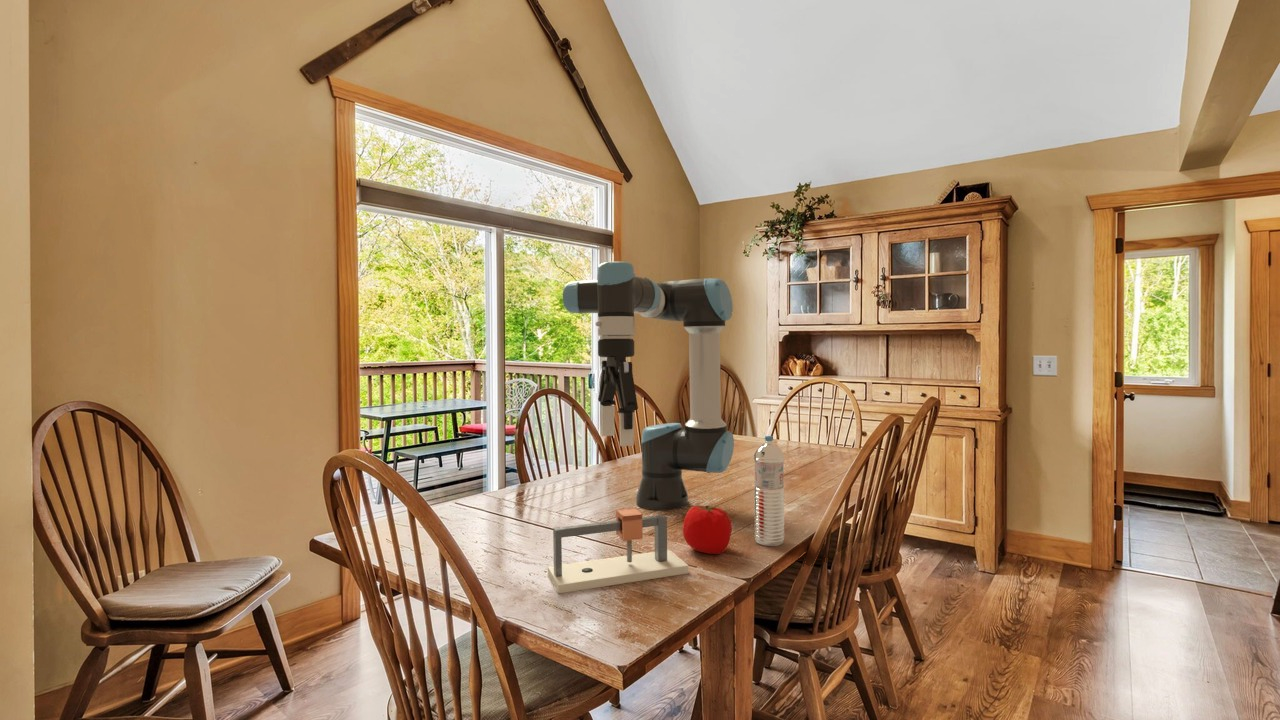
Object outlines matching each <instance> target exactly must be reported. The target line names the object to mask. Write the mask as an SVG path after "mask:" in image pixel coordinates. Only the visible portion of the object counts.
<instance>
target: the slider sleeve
mask: <svg viewBox="0 0 1280 720" xmlns="http://www.w3.org/2000/svg"><path fill="white" fill-rule="evenodd" d="M642 517H643V514H642V512H640V511H639V510H638V509H636V508H635V507H631V508H630V507H628V508H620V509H616V510H615V521H616V520H622V530H619V531H615V532H616V533H615V534H616V535H617V536H618V537H619V538H620V539H621V540H622V541H623V542H626V556H627V562H632V555H633V553H632V552H633V549H632V547H633V546H632V545H633V542H632V541H635V540H636V541H637V540H642V539H643V528H642Z"/></svg>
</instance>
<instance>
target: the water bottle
mask: <svg viewBox="0 0 1280 720" xmlns="http://www.w3.org/2000/svg"><path fill="white" fill-rule="evenodd" d="M764 441H765V442H764V443H763V444H761V445H760V446H759V447H758V448H757V449H756V451H755V452H754V455H753V459H754V501H753V502H754V541H755V543H757V544H758V545H761V546H763V547H778V546H781V545H783V544H784V540H785V488H784V486H785V485H784V481H785V480H784V479H785V478H784V472H785V471H784V462H785V454H784V453H783V451H782V450H781V448H780V447H779V446H778V445H777V444H775V443H774V436H772V435H765V437H764Z"/></svg>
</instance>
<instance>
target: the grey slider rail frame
mask: <svg viewBox="0 0 1280 720" xmlns="http://www.w3.org/2000/svg"><path fill="white" fill-rule="evenodd" d="M649 527H654V552H655V559H656V560H657V561H658V562H661V561H667V550H668V517H667V516H665V515H664V514H659V515H658V514H657V515H656V514H655V515H651V516H642V529H644V528H649ZM552 529H553V530H552V537H553V540H552V541H553V542H552V543H553V548H552V549H553V566H554V575H555V576H556V577H560V576H562V565H563V559H562V558H563V553H562V551H563V550H562V547H563V546H562V538H569V537H576V536H577V537H578V536H585V535H586V536H587V535H594V534H601V533H603V534H604V533H608V532H610V533H611V532H616V531H619V530H622V520H616V519H615V520H610V521H602V522H601V521H600V522H591V523H584V524H575V525H566V526H565V525H564V526H555V527H552Z"/></svg>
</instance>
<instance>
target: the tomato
mask: <svg viewBox="0 0 1280 720" xmlns="http://www.w3.org/2000/svg"><path fill="white" fill-rule="evenodd" d="M732 526H733V525H732V520H731V519H730V517H729V515H728V514H727V512H725V510H723V509H722V508H719V505H717V506H714V507H711V506H710V505H694V506H692V507H690V508H689V510H688V511H687V512H686V515H685V516H684V519H683V527H682V534H683V539H684V540H685V543H687V545H689V547H690V548H692V549H693V550H695V551H697V552H700V553H705V554H708V555H719V554H721V553H723V552H725V550H726V549H727V547H729V544H730V540H731V534H732V530H733V527H732Z"/></svg>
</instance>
